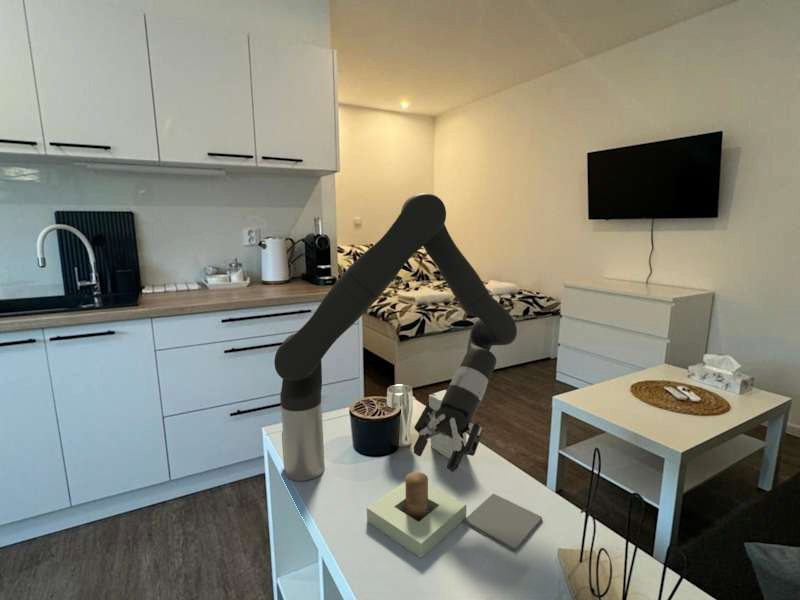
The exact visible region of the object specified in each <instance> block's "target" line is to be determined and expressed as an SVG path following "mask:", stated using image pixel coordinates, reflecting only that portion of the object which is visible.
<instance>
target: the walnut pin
mask: <svg viewBox="0 0 800 600" xmlns="http://www.w3.org/2000/svg"><path fill="white" fill-rule="evenodd" d="M404 482H405V485H406V512H405V514H407V515H408V516H410V517H411V518H413V519H415V520H416V521H418V522H419V521H421V520H422V519H423V518H424V517H425V516H427V515H428V514H429V512H428V484H429V477H428V476H427V475H426V473H423V472H418V471H414V472H413V471H412V472H409V473H407V475H406V476H405V481H404Z"/></svg>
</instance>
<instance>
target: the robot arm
mask: <svg viewBox="0 0 800 600" xmlns="http://www.w3.org/2000/svg"><path fill="white" fill-rule="evenodd" d="M446 219H447V211H446V206H445V204H444V202H443V200H442V199H441V198H440V197H438V196H437V195H435V194H432V193H428V192H425V193H424V192H422V193H417V194H415V195H413V196H411V197H409V198H407V199H406V200H405V201H404V203H403V205H402V207H401V211H400V213H399V214H398V216H397V218H396V219H395V221H394V222H393V223H392V224H391V226H390V227H389V229H388V230H387V231H386V232H385V234H384V235H383V236H382V237H381V238H380V239H379V240H378V241H377V242H376V243H374V244H373V245H371V247H370V248H368V249H367V250H366V251H364V252H363V253H362V254H361V255H360V256H359V257H358V258H357V259H356V260H355V261H354V262H353V263H352V264H351V265H350V266H349V267H348V268H347V269H346V270H345V271H344V273H342V274H341V276H340V277H339V278H338V279H337V280H336V282H335V283H334V285H333V286H332V287H331V288H330V289H329V290H328V292H327V294H325V297H324V298H323V299H322V300H321V303H320V304H319V305H318V307H317V309H316V310H315V311H314V313H313V315H311V317H310V318H309V319H308V320H307V322H305V323H304V325H303V326H302V327H301V328H300V329H299V330H297V332H295V333H293V334H291V335H289V336H288V337H286V339H285V340H284V341H283V342H282V343H281V344H280V345H279V347H278V348H277V350H276V351H275V356H274V361H273V362H274V368H275V371H276V373H277V375H278V376H279V377H280V378H281V379H282V381H281V382H282V383H281V384H282V385H281V390H280V398H279V399H280V411H281V422H282V423H281V424H282V425H281V426H282V431H281V443H282V444H281V445H282V457H283V458H282V459H283V461H282V462H283V469H284V471H285V475H286V477H287V478H288V479H290V480H292V481H296V482H307V481H310V480H313V479H315V478H318V477H319V476H321V474H322V473H324V471H325V468H326V467H325V445H324V441H325V440H324V428H323V427H324V424H323V422H324V420H323V407H322V404H323V403H322V387H323V374H322V373H323V372H322V371H323V370H322V359H323V358H324V356H325V355H326V354H327V352H328V351H329V350H330V348H331V347H332V346H333V345H334V344H335V343H336V341H337V340H338V339H339V338H340V337H341V336H342V335H343V334H344V333H346V332H347V331H348V330H349V329H350V328H351V327H352V326H353V325H354V324H355V323H356V322H357V321H358V320H359V319H360V318H361V317H362V316H363V315H364V314H366V311H367V312H368V310H369V309H370V307H371V306H373V304H374V303H375V302H377V300H378V299H379V297H380V296H381V295H382V294H383V293H384V292H385V290H387V288H388V287H389V285H391V283H392V282H393V280H394V279H395V278H396V277H397V275H398V274H399V272H401V270H403V269H402V268H403V267H404V266H405V264H406V263H408V261H410V259H411V258H412V257H413V256H414V255H415V254H416V253H417V252H418V251H419V250H420V249H421V248H424V250H425V251H426V252H427V254H428V255H429V257H430V258H431V259H432V261H433V262H434V263H435V265H436V267H437V268H438V270H439V272H440V274H441V276H442V277H443V279H444V282H446V284H447V286H448V288H449V289H450V291H451V293H452V295H453V296H454V298H455V299H456V300H457V302H458V304H459V305H460V307H461V309H462V311H464V313H466V315H468V316H470V317H471V316H472V317H475V318H478V319H477V320H476V321H475V322H474V324H473V325H472V327H471V329H470V334H469V337H468V342H467V348H466V353H465V355H464V358H462V361H461V364H460V365H459V367H458V369H457V370H456V372H455V374H454V375H453V376H452V379H451V382H450V383H449V385H448V387H447V389H446V390H447V391H446V393H445V395H444V397H443V399H442V402H441V407H440V408H439V409H438V410H437V411H436V410H434V409H432V408H431V407H430V406H429V405H426V406H425V407H424V410H423V412H422V413H421V415H420V417H419V419H418V420H417V421H416V423H415V425H414V430H415V431H416V432H417V433H418V437H417V440H416V442H415V444H414V446H413V454H415V456H417V457H421V456H422V455H423V453H424V451H425V448H426V446H427V444H428V442H429V439H431V437H432V436H434V435H438V434H439V433H441V434H442V435H445V436H449V437H450V438H452V439H454V441H455V447H456V451H453V453H452V456H451V458H450V459H448V463H447V465H446V469H447V470H448V471H449V472H450V473H454V472H455V471H457V470H458V469H459V467H460V464H461V462H462V461H463V460H462V459H463V458H464V457H465V456H467V455H468V456H471V457H473V456H474V455H475V454H476V451H477V449H478V445H479V443H480V440H481V438H482V435H483V433H484V429H483V427H482V426H481V425H480V424H479V423H478V422H476V423H472V420H474V419H475V418H474V417H475V416H476V413H477V410H478V409H479V407H480V404H481V402H482V400H483V398H484V395H485V394H486V390H487V388H488V387H487V386H488V384H489V381H490V379H491V376H492V374H493V372H494V370H495V367H496V365H497V357H496V356H495V355H494V354H493V352H492V351H491V348H492V347H493V346H508V345H511V344H512V343H513V342H514V341H516V337H517V334H518V330H517V324H516V322H515V319H514V318H513V316H512V315H511V313H509V311H507V309H505V308H504V307H503V306H502V304H500V303H499V301H497V299H495V298H494V297H493V296H492V295H491V294H490V291H489V290H488V288H487V287H486V285H485V284H484V282H483V281H482V278H481V277H480V276H479V274H478V272H477V270H475V268H474V267H473V266H472V264H470V262H469V261H468V259H467V258H466V257H465V255H464V254H463V253H462V252H461V251H460V249H459V248H458V246H457V245H456V243H455V241H454V240H453V238H452V236H451V235H450V233H449V230H448V229H447V226H446V224H445V223H446V221H447V220H446ZM434 417H435V420H434V421H432V422H431V423H430V421H431V419H433V418H434ZM434 427H436V428H434ZM468 431H469V436H468V439H467V440H466V446H465V439H464V434H463V433H465V432H466V433H467V432H468Z"/></svg>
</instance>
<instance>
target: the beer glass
mask: <svg viewBox="0 0 800 600" xmlns="http://www.w3.org/2000/svg"><path fill="white" fill-rule="evenodd" d="M387 405H388V406H389V407H391V408H401V419H400V443H399V446H400V447H399V448H403V447H404V448H405V447H408V446H410V445H411V443H412V436H411V422H412V418H413V412H414V399H413V388H412V387H411V386H409V385H408V384H393V385H390V386H389V387H388V388H387V391H386V406H387Z"/></svg>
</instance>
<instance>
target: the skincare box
mask: <svg viewBox="0 0 800 600" xmlns="http://www.w3.org/2000/svg"><path fill="white" fill-rule="evenodd" d="M446 391H447V389H443V390H440V391H437V392H434V393H431V394H429V395H428V403H429V404H428V406H430V407H431V408H432V409H434V410H436V411H437V410H438V409H439V408H440V407H441V402H442V399H443V397H444V395H445V393H446ZM434 420H435V417H434V418H433V419H431V421H430V423H431V422H432V421H434ZM434 428H436V427H434ZM463 434H464V439H465V446H466V443H467V431H466V432H465V433H463ZM430 447H431V448H432V449H434V450H436V451H437V452H439V453H440V454H442V455H443V456H444V457H446V458H447V459H448V460H450V458H451V456H452V453H453V451H456V447H455V441H454V439H452V438H450V437H449V436H445V435H442V434H441V433H439V434H438V435H434V436H432V437H431V438H430Z"/></svg>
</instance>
